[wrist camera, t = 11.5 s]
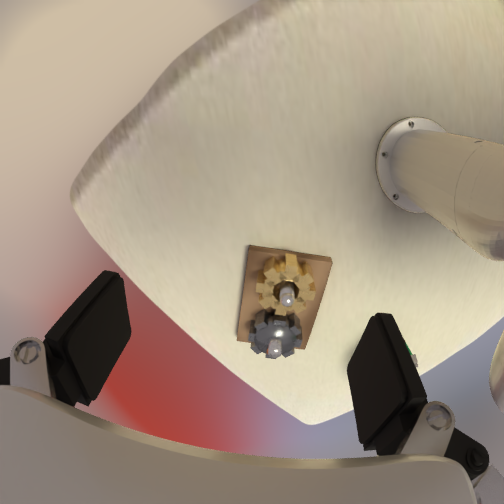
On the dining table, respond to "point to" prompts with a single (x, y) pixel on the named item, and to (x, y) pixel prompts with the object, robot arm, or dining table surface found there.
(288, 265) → the wooden gear
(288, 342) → the gear
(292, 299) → the peg
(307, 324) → the gear board
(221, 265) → the dining table surface
